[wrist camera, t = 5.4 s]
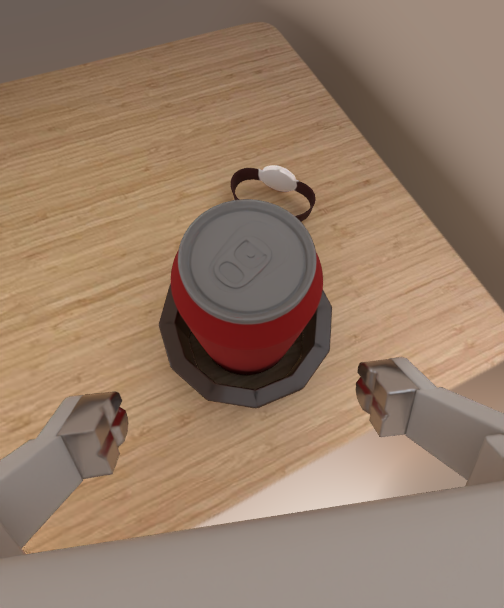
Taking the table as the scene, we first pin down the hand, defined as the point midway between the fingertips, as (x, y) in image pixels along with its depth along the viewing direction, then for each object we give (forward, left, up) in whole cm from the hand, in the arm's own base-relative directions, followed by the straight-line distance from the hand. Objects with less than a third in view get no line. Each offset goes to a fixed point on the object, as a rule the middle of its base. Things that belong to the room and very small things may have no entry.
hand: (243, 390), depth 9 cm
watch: (+15, +9, -12) cm, 21 cm away
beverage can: (+4, +3, -12) cm, 13 cm away
